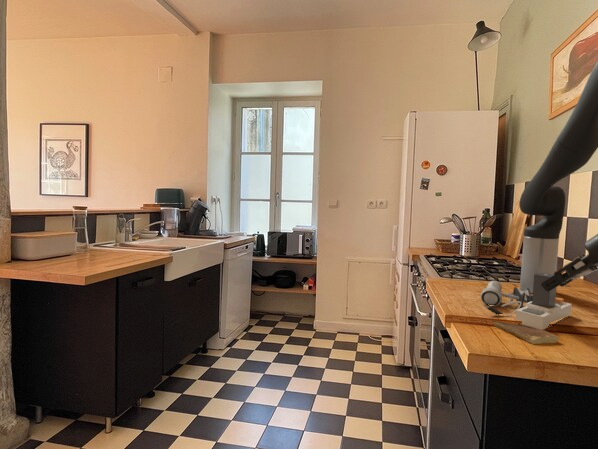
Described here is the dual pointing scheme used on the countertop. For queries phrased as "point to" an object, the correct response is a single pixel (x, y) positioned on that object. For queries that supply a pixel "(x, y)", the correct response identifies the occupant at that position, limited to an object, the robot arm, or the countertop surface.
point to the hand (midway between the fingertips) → (551, 285)
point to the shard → (528, 333)
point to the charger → (543, 292)
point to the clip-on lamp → (494, 296)
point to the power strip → (542, 314)
